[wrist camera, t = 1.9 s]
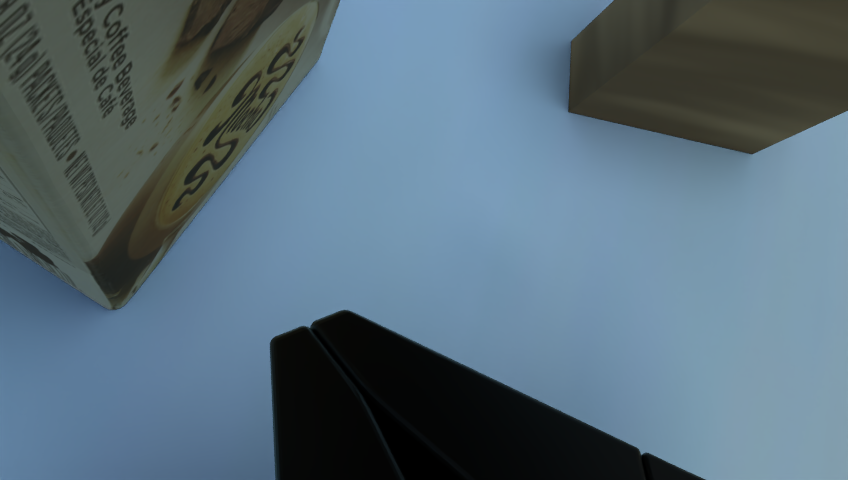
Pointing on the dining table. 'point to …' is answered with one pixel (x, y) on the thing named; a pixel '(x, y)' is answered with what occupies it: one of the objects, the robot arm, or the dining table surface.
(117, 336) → the dining table surface
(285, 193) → the dining table surface
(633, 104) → the dot tablet
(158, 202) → the coffee box
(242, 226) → the dining table surface
